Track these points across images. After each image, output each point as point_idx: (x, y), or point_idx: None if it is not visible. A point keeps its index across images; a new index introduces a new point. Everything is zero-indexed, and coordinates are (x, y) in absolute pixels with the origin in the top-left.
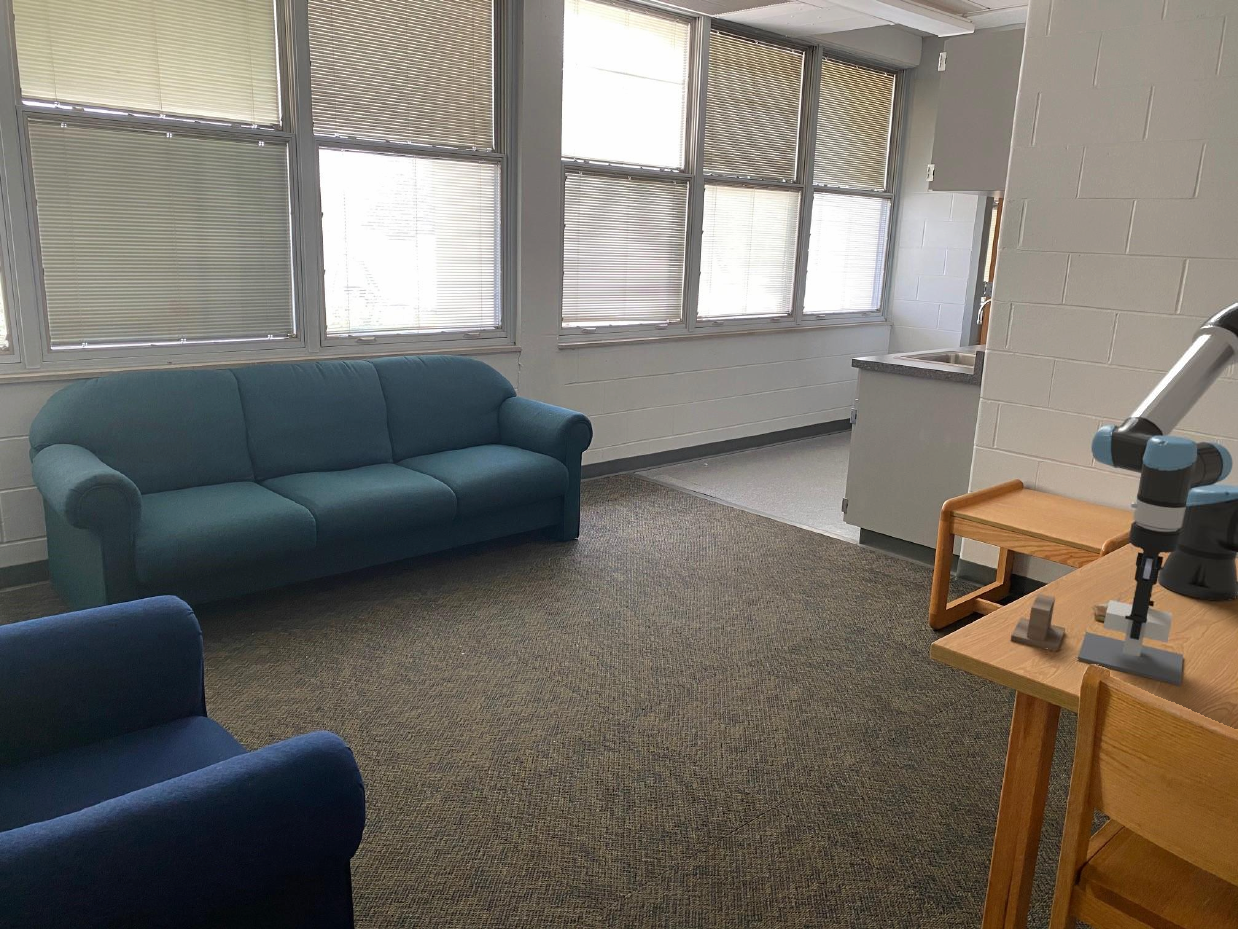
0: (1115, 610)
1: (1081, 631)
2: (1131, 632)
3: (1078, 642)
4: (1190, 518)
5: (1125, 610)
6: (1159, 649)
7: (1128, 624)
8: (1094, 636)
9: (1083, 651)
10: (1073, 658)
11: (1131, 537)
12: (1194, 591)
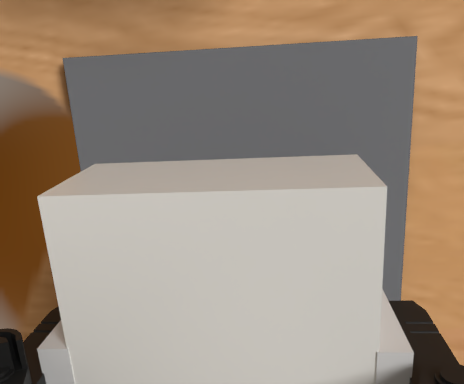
0: (144, 254)
1: (454, 7)
2: (38, 328)
3: (286, 23)
4: None
5: (199, 317)
6: None
7: (58, 325)
8: (376, 83)
9: (145, 68)
10: (77, 39)
11: None
12: None
